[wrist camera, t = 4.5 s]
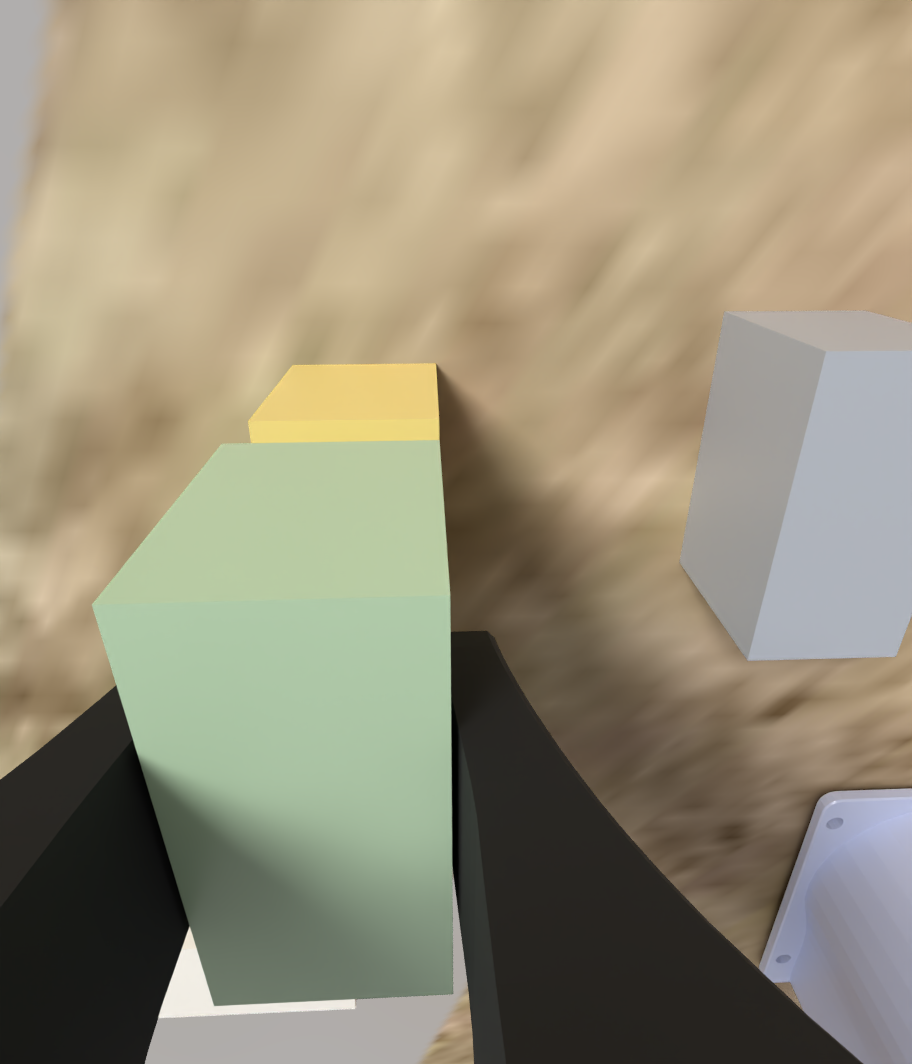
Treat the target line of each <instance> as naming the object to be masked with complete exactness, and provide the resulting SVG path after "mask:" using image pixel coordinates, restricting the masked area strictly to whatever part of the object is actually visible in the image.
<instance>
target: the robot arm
mask: <svg viewBox="0 0 912 1064" xmlns="http://www.w3.org/2000/svg"><path fill="white" fill-rule="evenodd" d="M451 767H452V866H453V874H454V882H455V890H456V897H457V905H458V913H459V920H460V928H461V936H462V944H463V951H464V959H465V966H466V974H467V982H468V990H469V1000H470V1011H471V1022H472V1032H473V1050H474V1064H912V788H905V789H878V790H851V791H833V792H829V793H827V794H824V795H823V796H822V797H821V798H820V799H819V801H818V802H817V804H816V807H815V810H814V813H813V816H812V819H811V821H810V824H809V827H808V830H807V833H806V835H805V838H804V841H803V844H802V847H801V850H800V852H799V855H798V858H797V861H796V864H795V866H794V869H793V872H792V875H791V878H790V881H789V883H788V886H787V889H786V892H785V895H784V897H783V900H782V903H781V906H780V909H779V911H778V914H777V917H776V920H775V923H774V926H773V928H772V931H771V934H770V937H769V940H768V942H767V945H766V948H765V951H764V954H763V957H762V959H761V962H760V965H759V969H758V968H757V967H756V966H755V965H754V964H753V963H752V962H751V961H750V960H749V959H748V958H746V957H745V956H744V955H743V954H742V953H741V952H740V951H739V950H738V949H737V948H736V947H735V946H734V945H733V944H732V943H731V942H730V941H728V940H727V939H726V938H725V937H724V936H723V935H722V934H721V933H720V932H719V931H718V930H717V929H716V928H715V927H714V926H713V925H712V924H710V923H709V922H708V921H707V920H706V919H705V917H704V916H703V915H702V914H701V913H700V912H699V911H698V910H697V909H696V908H695V907H694V906H693V905H692V904H691V903H690V902H689V901H688V900H687V899H686V898H685V897H684V896H683V895H682V894H681V893H680V891H679V890H678V889H677V888H676V887H675V886H674V885H673V884H672V883H671V882H670V881H669V880H668V879H667V878H666V877H665V876H664V875H663V874H662V873H661V872H660V870H659V869H658V868H657V867H656V866H655V865H654V864H653V863H652V862H651V860H650V859H649V858H648V857H647V856H646V855H645V854H644V853H643V851H642V850H641V849H640V848H639V847H638V846H637V845H636V844H635V843H634V841H633V840H632V839H631V838H630V837H629V836H628V835H627V833H626V832H625V831H624V830H623V829H622V828H621V826H620V825H619V824H618V823H617V822H616V820H615V819H614V818H613V817H612V816H611V814H610V813H609V812H608V811H607V809H606V808H605V807H604V806H603V805H602V803H601V802H600V801H599V800H598V798H597V797H596V796H595V794H594V793H593V792H592V791H591V789H590V788H589V787H588V785H587V784H586V783H585V782H584V780H583V779H582V778H581V776H580V775H579V774H578V773H577V771H576V770H575V769H574V767H573V766H572V764H571V763H570V762H569V760H568V759H567V758H566V756H565V755H564V753H563V752H562V751H561V749H560V748H559V746H558V745H557V744H556V742H555V741H554V739H553V738H552V736H551V735H550V733H549V732H548V730H547V729H546V727H545V726H544V724H543V723H542V721H541V720H540V718H539V717H538V716H537V714H536V713H535V711H534V709H533V708H532V706H531V705H530V703H529V701H528V700H527V698H526V697H525V695H524V693H523V692H522V690H521V688H520V687H519V685H518V683H517V681H516V680H515V678H514V676H513V675H512V673H511V671H510V669H509V667H508V665H507V664H506V662H505V660H504V658H503V656H502V654H501V652H500V649H499V647H498V645H497V643H496V640H495V638H494V637H493V636H492V635H491V634H490V633H489V632H487V631H469V632H451ZM189 927H190V925H189V922H188V919H187V915H186V912H185V909H184V906H183V902H182V899H181V896H180V892H179V889H178V886H177V883H176V879H175V876H174V873H173V869H172V866H171V863H170V860H169V856H168V853H167V850H166V846H165V843H164V840H163V837H162V833H161V830H160V827H159V823H158V820H157V817H156V814H155V810H154V807H153V804H152V800H151V797H150V794H149V791H148V787H147V784H146V781H145V777H144V774H143V771H142V768H141V764H140V761H139V758H138V754H137V751H136V748H135V745H134V741H133V738H132V735H131V731H130V728H129V725H128V722H127V718H126V715H125V712H124V708H123V705H122V702H121V698H120V695H119V692H118V689H117V685H116V686H115V687H114V688H113V689H111V690H110V691H109V692H108V693H107V694H106V695H104V696H103V697H102V698H101V699H100V700H99V701H97V702H96V703H95V704H94V705H93V706H91V707H90V708H89V709H88V710H87V711H85V712H84V713H83V714H82V715H81V716H79V717H78V718H77V719H76V720H74V721H73V722H72V723H71V724H70V725H68V726H67V727H66V728H65V729H64V730H62V731H61V732H60V733H59V734H58V735H56V736H55V737H54V738H53V739H52V740H50V741H49V742H48V743H47V744H46V745H44V746H43V747H42V748H41V749H39V750H38V751H37V752H36V753H34V754H33V755H32V756H30V757H29V758H28V759H27V760H25V761H24V762H23V763H21V764H20V765H19V766H17V767H16V768H15V769H14V770H12V771H11V772H10V773H8V774H7V775H6V776H5V777H3V778H2V779H1V780H0V1064H145V1060H146V1056H147V1052H148V1049H149V1046H150V1042H151V1039H152V1036H153V1032H154V1029H155V1026H156V1023H157V1020H158V1017H159V1013H160V1010H161V1007H162V1004H163V1001H164V998H165V995H166V992H167V990H168V987H169V984H170V981H171V978H172V975H173V972H174V970H175V967H176V964H177V961H178V958H179V955H180V952H181V950H182V947H183V944H184V941H185V938H186V935H187V932H188V930H189ZM778 982H790V983H791V985H792V987H793V989H794V992H795V994H796V996H797V998H798V1000H799V1002H800V1004H801V1007H802V1009H803V1010H801V1009H800V1008H799V1007H798V1006H797V1005H796V1004H795V1003H794V1002H793V1001H792V1000H791V999H790V998H789V997H788V996H787V995H786V994H785V993H784V992H782V991H781V990H780V989H779V988H778V987H777V986H776V985H775V984H774V983H778Z"/></svg>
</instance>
